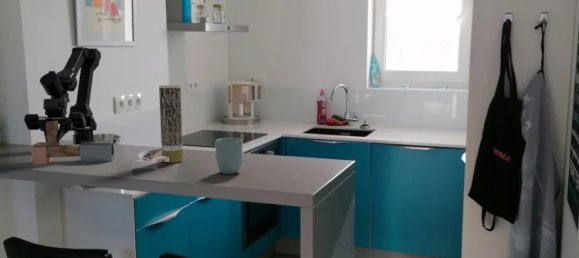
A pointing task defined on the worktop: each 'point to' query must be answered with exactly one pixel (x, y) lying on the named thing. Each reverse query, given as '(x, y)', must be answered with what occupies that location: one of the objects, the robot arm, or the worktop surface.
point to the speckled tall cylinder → (171, 122)
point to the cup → (229, 155)
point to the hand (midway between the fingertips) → (52, 141)
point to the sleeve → (96, 151)
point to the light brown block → (40, 153)
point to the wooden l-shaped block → (54, 146)
